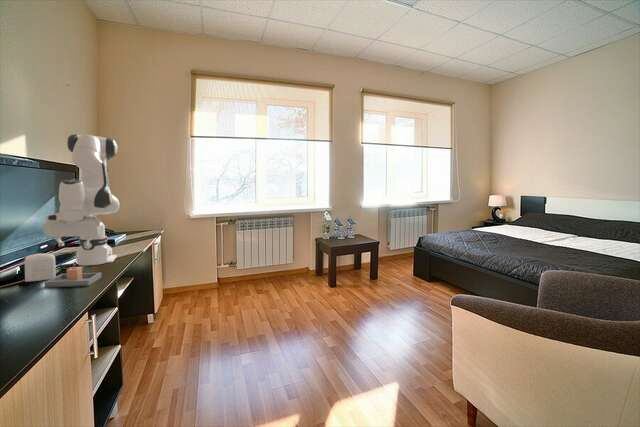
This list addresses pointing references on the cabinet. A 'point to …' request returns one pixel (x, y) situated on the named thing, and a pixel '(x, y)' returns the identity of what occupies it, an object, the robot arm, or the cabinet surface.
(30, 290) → the cabinet surface
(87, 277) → the tray
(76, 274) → the terracotta block
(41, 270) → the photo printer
